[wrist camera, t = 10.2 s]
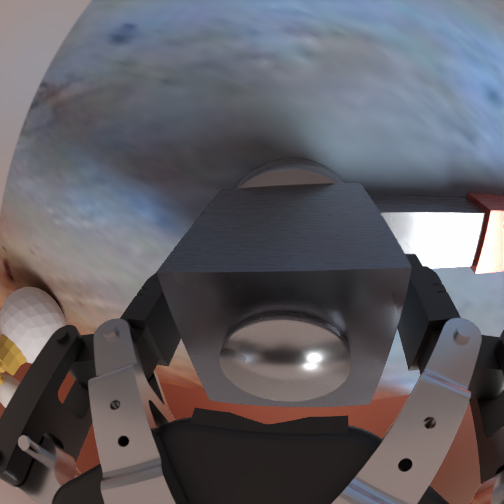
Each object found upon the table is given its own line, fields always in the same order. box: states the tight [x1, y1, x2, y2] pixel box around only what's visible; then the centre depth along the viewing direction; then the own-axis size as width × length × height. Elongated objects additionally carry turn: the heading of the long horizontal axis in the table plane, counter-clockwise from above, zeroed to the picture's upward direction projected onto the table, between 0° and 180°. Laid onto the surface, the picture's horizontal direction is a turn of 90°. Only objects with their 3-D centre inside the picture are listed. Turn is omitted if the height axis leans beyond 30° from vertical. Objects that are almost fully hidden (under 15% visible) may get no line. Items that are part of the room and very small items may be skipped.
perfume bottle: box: [0, 287, 66, 408], centre depth 18 cm, size 8×10×12 cm
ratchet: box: [236, 158, 504, 274], centre depth 11 cm, size 20×7×6 cm, turn 98°
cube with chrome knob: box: [156, 183, 412, 407], centre depth 9 cm, size 6×6×6 cm
